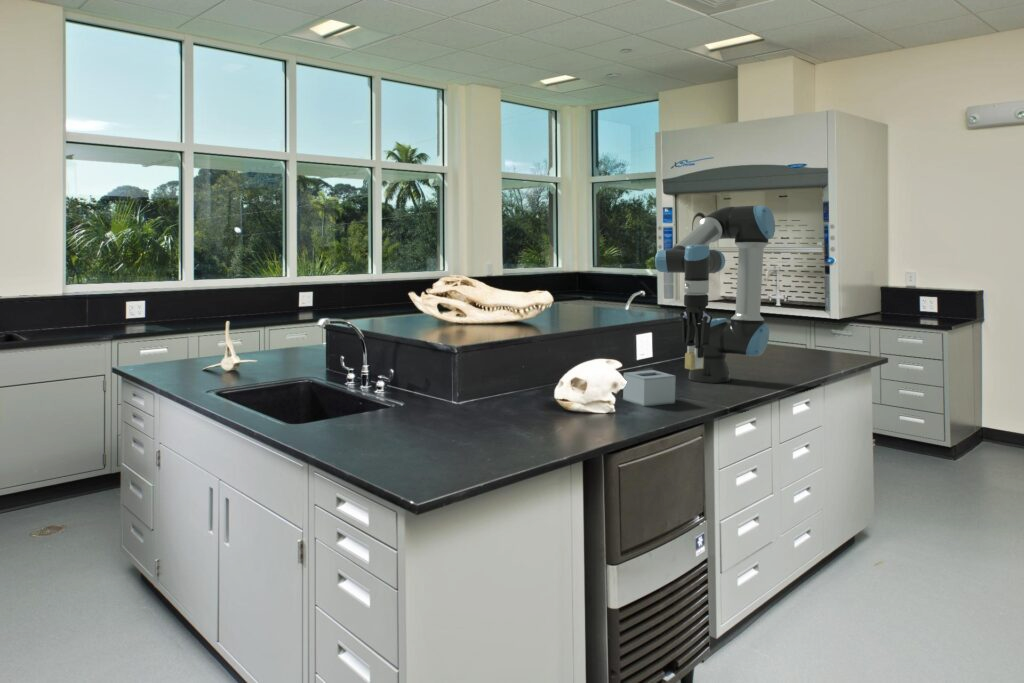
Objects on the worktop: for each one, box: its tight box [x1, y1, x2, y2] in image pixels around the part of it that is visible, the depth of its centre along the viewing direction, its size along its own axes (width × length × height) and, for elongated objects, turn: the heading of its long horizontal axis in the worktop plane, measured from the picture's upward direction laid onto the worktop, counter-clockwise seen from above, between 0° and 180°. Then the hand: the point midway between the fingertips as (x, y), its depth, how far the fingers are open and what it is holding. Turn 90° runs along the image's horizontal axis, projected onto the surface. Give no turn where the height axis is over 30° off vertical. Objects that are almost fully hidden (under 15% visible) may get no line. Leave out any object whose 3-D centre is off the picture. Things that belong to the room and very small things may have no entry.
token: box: [684, 352, 704, 370], centre depth 242 cm, size 5×3×5 cm, turn 114°
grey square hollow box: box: [622, 369, 677, 408], centre depth 247 cm, size 12×12×9 cm
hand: (694, 366), depth 243 cm, fingers closed on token, 3 cm apart
